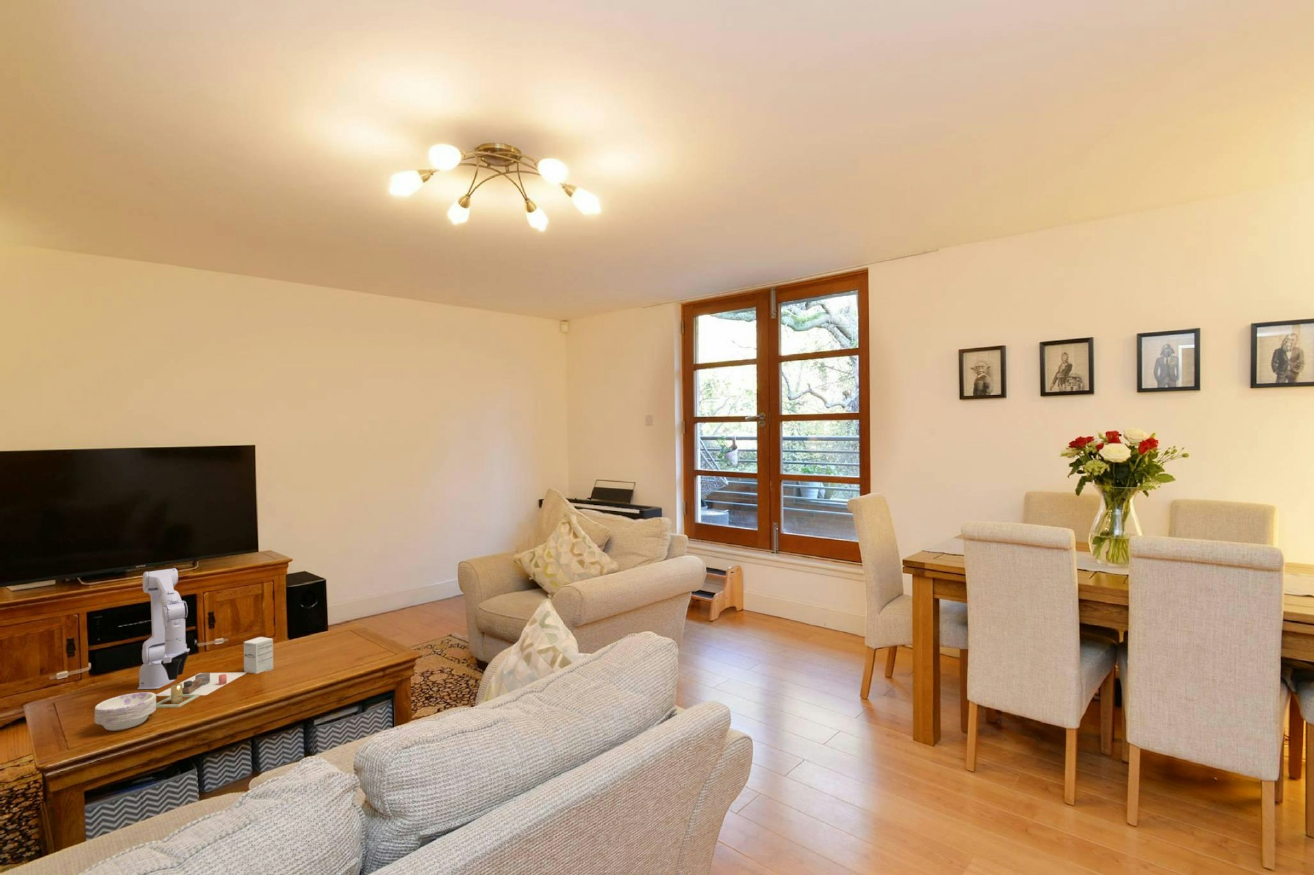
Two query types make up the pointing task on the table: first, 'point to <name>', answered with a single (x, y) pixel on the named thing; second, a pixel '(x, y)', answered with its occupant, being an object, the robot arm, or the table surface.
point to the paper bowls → (125, 710)
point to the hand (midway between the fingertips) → (175, 677)
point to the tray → (176, 704)
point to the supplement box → (258, 655)
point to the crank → (196, 683)
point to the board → (209, 686)
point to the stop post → (222, 679)
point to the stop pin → (176, 693)
